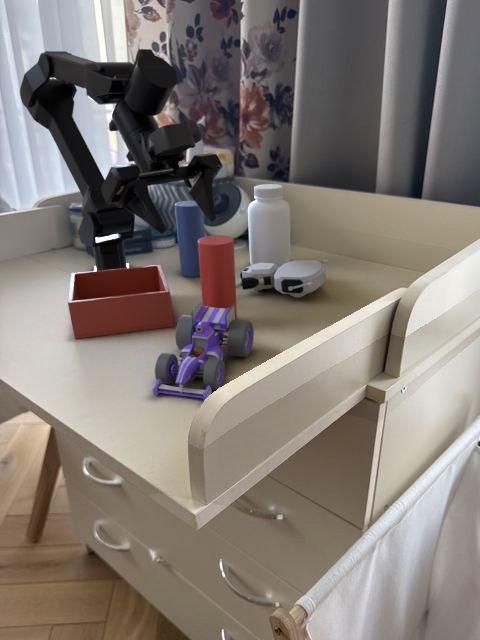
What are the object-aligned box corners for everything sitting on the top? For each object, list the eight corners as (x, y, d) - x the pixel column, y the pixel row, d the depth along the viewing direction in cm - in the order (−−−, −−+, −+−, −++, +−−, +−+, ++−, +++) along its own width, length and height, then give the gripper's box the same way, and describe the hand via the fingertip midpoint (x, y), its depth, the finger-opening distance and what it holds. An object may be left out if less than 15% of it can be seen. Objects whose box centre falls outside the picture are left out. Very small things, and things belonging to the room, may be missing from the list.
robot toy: (229, 302, 91) (316, 306, 87) (226, 277, 90) (315, 279, 85) (253, 279, 102) (331, 280, 97) (250, 255, 100) (331, 256, 95)
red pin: (201, 320, 83) (195, 236, 77) (233, 316, 85) (229, 233, 79) (207, 333, 79) (201, 246, 73) (240, 329, 80) (237, 242, 74)
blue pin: (179, 269, 105) (173, 201, 99) (204, 267, 106) (200, 199, 100) (182, 278, 101) (176, 207, 95) (209, 275, 102) (205, 205, 96)
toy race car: (142, 395, 64) (135, 345, 61) (190, 340, 77) (186, 297, 74) (218, 405, 62) (215, 354, 59) (254, 347, 75) (253, 303, 72)
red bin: (77, 305, 89) (71, 273, 87) (163, 295, 93) (160, 264, 90) (74, 339, 78) (67, 302, 76) (173, 326, 81) (170, 291, 79)
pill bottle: (252, 257, 111) (250, 182, 104) (292, 258, 110) (292, 182, 103) (246, 270, 104) (243, 190, 97) (288, 271, 103) (288, 190, 96)
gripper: (101, 102, 70) (156, 206, 69) (214, 96, 81) (262, 185, 80) (80, 156, 79) (128, 249, 77) (185, 144, 90) (228, 225, 89)
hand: (189, 226), depth 81 cm, fingers open, 9 cm apart
